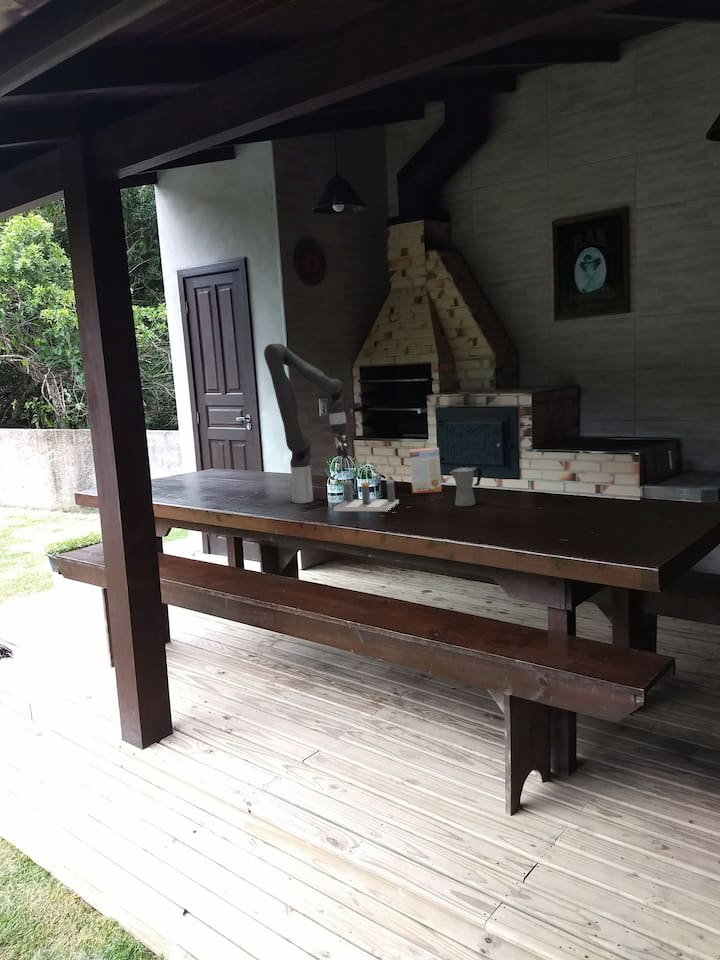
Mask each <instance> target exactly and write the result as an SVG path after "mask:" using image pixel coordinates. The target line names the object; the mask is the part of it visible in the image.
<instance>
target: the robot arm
mask: <svg viewBox="0 0 720 960" xmlns="http://www.w3.org/2000/svg"><path fill="white" fill-rule="evenodd" d="M263 356H264V359H265V363H266V365H267V369H268V372H269V373H270V376H271V382H272V386H273V389H274V393H275V397H276V402H277V405H278V409H279V414H280V417H281V421H282V424H283V430H284V434H285V435H284V436H285V443H286V446H287V448H288V450H289V451H291V459H290V462H289V463H290V472H291V473H290V474H291V482H290V495H291V503H292V502H294V504H306V503H311V502H313V501H314V496H313V482H312V473H311V472H312V471H311V457H312V456H311V455H312V454H311V443H310V442H311V441H310V437H309V435H308V434H307V433H305V432H304V431H301V428H300V423H299V403H298V398H297V394H296V389H295V387H294V385H293V384H292V382H291V380H290V379H289V377H288V375H287V372H286V370H285V366H287V367H288V368H291V369H292V370H294V372H296V373H297V374H298V375H299V376H300V377H301V378H303V379H305V380H306V381H307V382H309V383H311V384H313V385H314V386H316V387H317V388H318V389H319V390H321V391H322V392H323V393H325V394H327V395H329V401H328V403H327V406H328V407H327V408H328V414H329V423H330V424H329V425H330V432H331V434H332V435H333V439H334V447H335V448H336V450H337V451H336V452H337V457H342V458H343V459H348V458H349V455H348V449H349V443H348V438H347V437H348V436H347V435H345V433H347V432H348V423H347V416H346V413H345V407H344V384H343V382H342V381H341V380H340V379H339V378H330V377H329V376H327V375H325V374H326V373H325V372H323V371H322V370H321V369H319V368H317V367H315V366H314V365H312V364H310V363H308V362H307V361H305V360H303V359H302V358H301V357H299V356H298V355H296V354H295V353H294V352H293V351H291V350H290V348H288V347H286V346H285V345H284V344H282V343H270V344H268V345H267V346H266V347H265V349H264V350H263Z"/></svg>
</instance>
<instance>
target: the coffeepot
mask: <svg viewBox="0 0 720 960" xmlns="http://www.w3.org/2000/svg"><path fill="white" fill-rule="evenodd" d="M483 472H484V471H483V469H482V468H481V467H480V466H475V467H474V466H473V467H466V463H465V462H462V463H461V467H459V468H454V469H453V470H451V471H449V474H450V475H451V476H452V477H453V479H454V482H455V486H456V493H455V500H454V501H455V502H454V504H455V506H457V507H469V506H474V505H476V500H475V499H476V498H475V494H474V490H473V483H474V473H477V478H476V483H474V486H475V487H477V486H480V483H481V479H482V475H483Z"/></svg>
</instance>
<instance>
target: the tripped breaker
mask: <svg viewBox="0 0 720 960" xmlns="http://www.w3.org/2000/svg"><path fill="white" fill-rule="evenodd" d="M360 484H361V485H360V486H361V496H362V499H361V500H363V504H368V503H370V499H371V496H370V482H368V481H363V482H361V483H360Z"/></svg>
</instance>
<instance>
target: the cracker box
mask: <svg viewBox="0 0 720 960" xmlns="http://www.w3.org/2000/svg"><path fill="white" fill-rule="evenodd" d="M440 458H441V457H440V448H439V447H426V448H415V449H414V448H413V449H412V448H411V449H409V460H410V462H409V464H410V476H411V489H412V494H413V493H415V494H425V493H426V494H427V493H440V492H441V493H442V492H443V491H442V490H443V489H442V478H441V477H442V476H441V475H442V474H441V461H440Z"/></svg>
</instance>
